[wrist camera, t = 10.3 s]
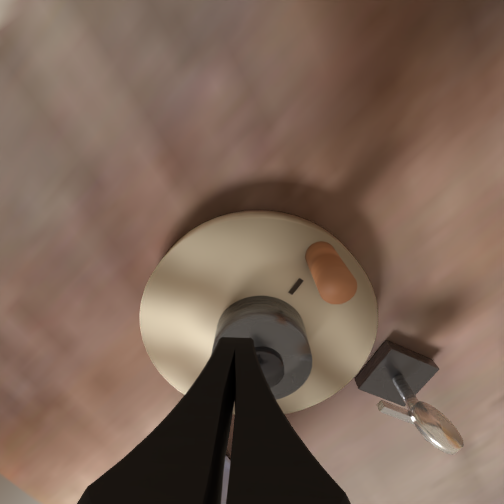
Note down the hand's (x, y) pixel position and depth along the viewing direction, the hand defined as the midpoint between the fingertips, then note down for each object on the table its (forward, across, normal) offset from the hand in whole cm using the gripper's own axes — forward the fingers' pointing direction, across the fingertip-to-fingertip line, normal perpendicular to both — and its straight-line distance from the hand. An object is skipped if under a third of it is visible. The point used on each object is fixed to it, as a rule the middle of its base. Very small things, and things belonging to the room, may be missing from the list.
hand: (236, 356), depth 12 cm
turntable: (+9, -1, +4) cm, 10 cm away
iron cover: (+7, -1, +4) cm, 8 cm away
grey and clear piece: (+9, -12, +9) cm, 17 cm away
